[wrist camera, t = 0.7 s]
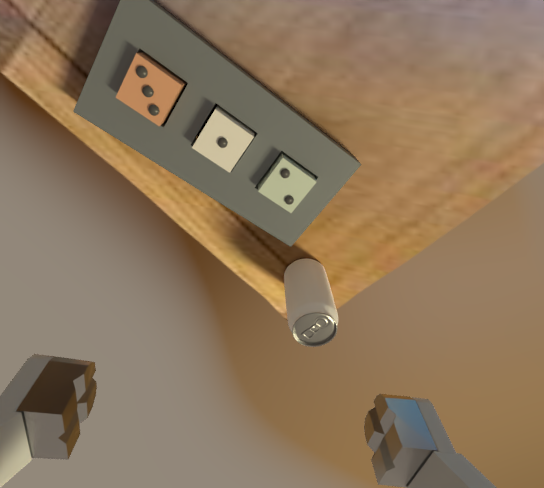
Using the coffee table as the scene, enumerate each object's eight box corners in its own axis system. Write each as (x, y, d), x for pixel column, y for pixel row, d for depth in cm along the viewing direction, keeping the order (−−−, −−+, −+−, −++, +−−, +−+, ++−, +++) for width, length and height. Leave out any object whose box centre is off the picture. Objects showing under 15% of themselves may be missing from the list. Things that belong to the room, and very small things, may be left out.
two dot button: (281, 150, 43) (283, 158, 40) (313, 173, 44) (316, 182, 42) (258, 182, 45) (257, 192, 42) (289, 203, 46) (291, 214, 44)
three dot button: (145, 52, 37) (135, 53, 34) (187, 82, 39) (181, 85, 36) (125, 93, 39) (114, 97, 36) (165, 120, 41) (158, 126, 38)
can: (334, 272, 54) (351, 327, 43) (306, 298, 56) (316, 356, 46) (303, 249, 52) (313, 301, 41) (274, 277, 54) (277, 333, 44)
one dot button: (218, 105, 40) (214, 109, 37) (254, 131, 42) (254, 137, 39) (196, 141, 42) (191, 148, 39) (231, 164, 43) (229, 173, 41)
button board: (137, -13, 36) (127, -17, 33) (355, 157, 45) (361, 164, 42) (85, 107, 41) (73, 111, 39) (289, 236, 50) (290, 246, 48)
